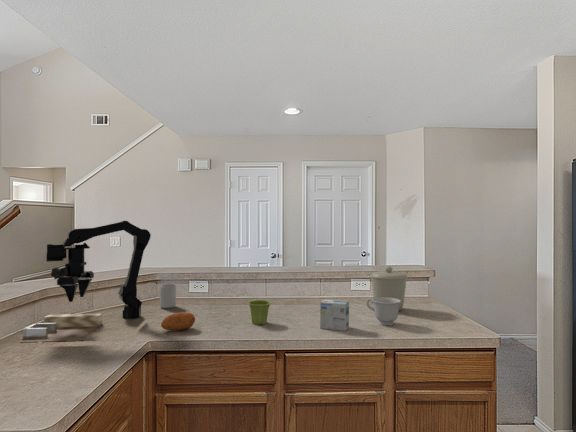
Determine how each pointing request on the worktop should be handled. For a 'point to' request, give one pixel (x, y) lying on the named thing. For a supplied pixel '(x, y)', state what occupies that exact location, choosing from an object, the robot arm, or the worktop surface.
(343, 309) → the light bulb box
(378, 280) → the canister
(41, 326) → the cup bracket
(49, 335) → the mounting board
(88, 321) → the rail
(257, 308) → the plant pot
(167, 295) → the can
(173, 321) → the potato
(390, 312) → the teacup
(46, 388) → the worktop surface
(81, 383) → the worktop surface
